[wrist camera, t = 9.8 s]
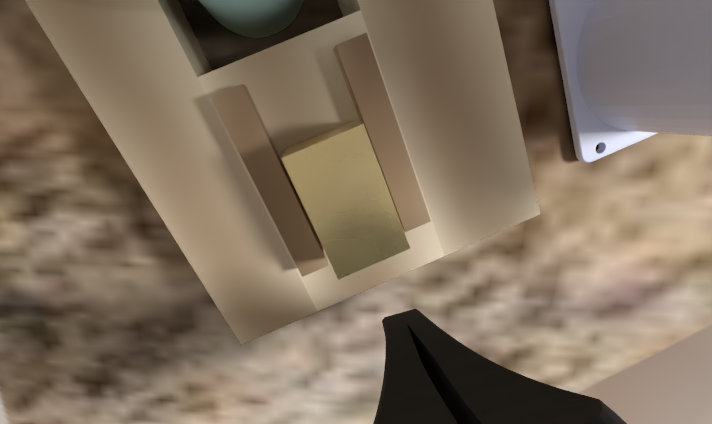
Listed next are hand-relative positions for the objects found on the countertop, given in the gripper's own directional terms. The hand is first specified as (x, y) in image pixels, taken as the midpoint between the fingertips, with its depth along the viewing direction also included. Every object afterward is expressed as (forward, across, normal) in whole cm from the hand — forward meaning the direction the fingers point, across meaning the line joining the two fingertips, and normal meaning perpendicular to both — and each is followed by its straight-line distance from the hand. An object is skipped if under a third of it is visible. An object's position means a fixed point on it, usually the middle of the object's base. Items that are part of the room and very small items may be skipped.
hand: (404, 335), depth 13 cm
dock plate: (+4, +1, -10) cm, 11 cm away
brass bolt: (+1, +1, -6) cm, 6 cm away
